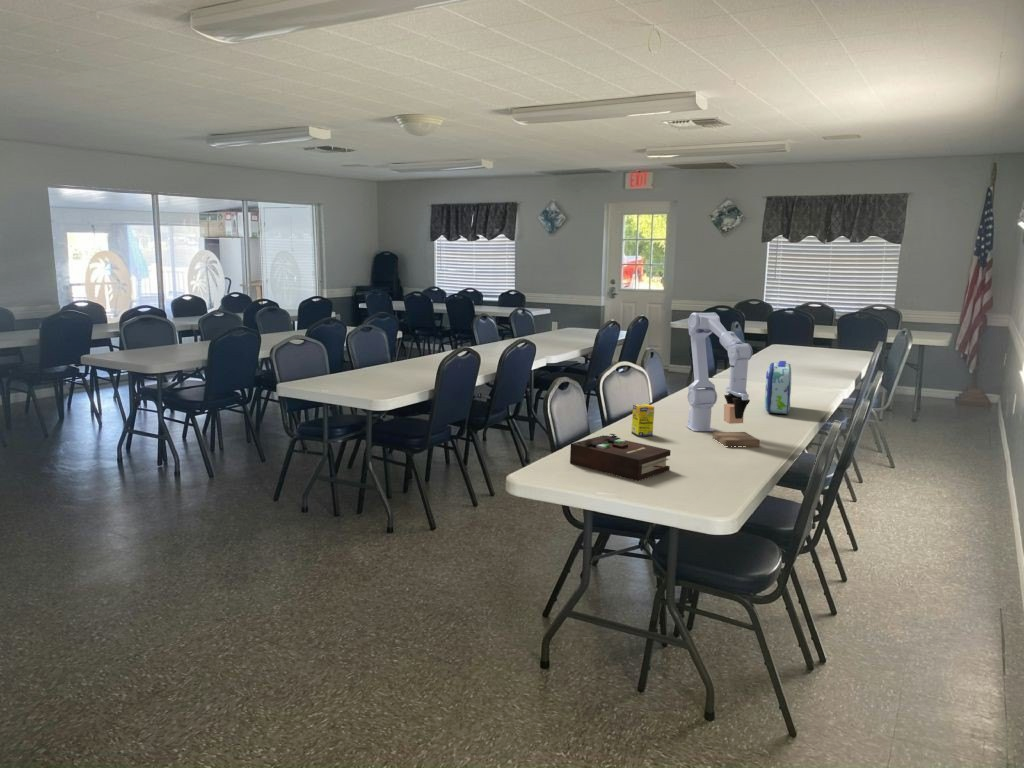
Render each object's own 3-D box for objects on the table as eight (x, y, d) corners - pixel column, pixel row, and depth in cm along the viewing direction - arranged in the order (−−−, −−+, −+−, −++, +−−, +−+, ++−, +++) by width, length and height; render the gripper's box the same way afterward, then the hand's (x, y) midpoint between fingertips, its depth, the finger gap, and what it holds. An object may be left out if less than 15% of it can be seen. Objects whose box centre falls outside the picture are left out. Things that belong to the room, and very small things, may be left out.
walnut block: (712, 440, 271) (713, 432, 271) (744, 440, 273) (745, 431, 272) (725, 448, 259) (726, 440, 259) (758, 448, 261) (759, 440, 260)
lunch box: (764, 404, 340) (768, 357, 336) (789, 406, 336) (793, 359, 333) (762, 415, 316) (766, 365, 312) (789, 417, 312) (793, 367, 309)
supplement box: (638, 437, 271) (639, 407, 270) (631, 433, 277) (632, 404, 275) (653, 436, 273) (654, 406, 271) (645, 432, 279) (647, 403, 277)
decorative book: (643, 459, 214) (562, 440, 234) (642, 485, 215) (561, 463, 236) (679, 448, 228) (599, 430, 248) (678, 472, 229) (598, 453, 249)
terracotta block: (723, 420, 267) (724, 403, 266) (737, 420, 267) (737, 403, 266) (729, 423, 262) (729, 406, 261) (743, 423, 262) (743, 406, 261)
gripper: (719, 375, 269) (716, 412, 271) (735, 381, 255) (732, 421, 257) (738, 375, 270) (735, 412, 272) (755, 381, 255) (752, 421, 258)
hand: (735, 416), depth 264 cm, fingers closed on terracotta block, 5 cm apart
